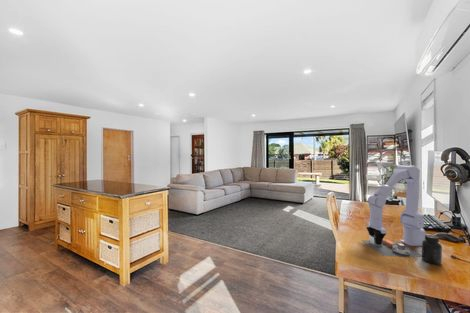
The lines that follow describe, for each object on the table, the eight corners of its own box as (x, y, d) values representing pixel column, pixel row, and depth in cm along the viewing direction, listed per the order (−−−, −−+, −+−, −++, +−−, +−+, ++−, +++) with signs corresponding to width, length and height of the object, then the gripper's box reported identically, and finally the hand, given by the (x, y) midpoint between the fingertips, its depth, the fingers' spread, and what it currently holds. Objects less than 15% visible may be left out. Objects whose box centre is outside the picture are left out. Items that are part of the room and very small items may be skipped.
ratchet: (390, 242, 122) (390, 235, 122) (413, 256, 105) (413, 247, 105) (377, 242, 122) (377, 234, 122) (398, 255, 105) (398, 247, 105)
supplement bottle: (417, 259, 103) (417, 233, 103) (431, 258, 103) (431, 233, 104) (432, 266, 96) (432, 238, 96) (446, 265, 97) (446, 238, 97)
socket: (377, 243, 121) (377, 234, 121) (382, 246, 117) (382, 236, 117) (369, 242, 121) (369, 233, 122) (373, 246, 117) (373, 236, 117)
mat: (397, 242, 124) (397, 241, 124) (426, 258, 104) (426, 257, 104) (361, 240, 125) (361, 240, 125) (383, 256, 105) (383, 255, 105)
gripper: (361, 214, 127) (361, 237, 126) (376, 221, 112) (376, 247, 112) (373, 214, 126) (373, 238, 126) (390, 221, 112) (390, 248, 112)
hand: (375, 242), depth 119 cm, fingers closed on socket, 5 cm apart
